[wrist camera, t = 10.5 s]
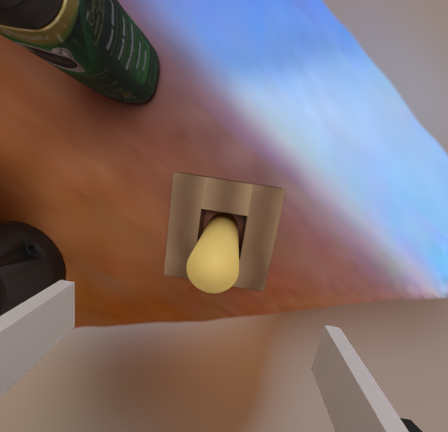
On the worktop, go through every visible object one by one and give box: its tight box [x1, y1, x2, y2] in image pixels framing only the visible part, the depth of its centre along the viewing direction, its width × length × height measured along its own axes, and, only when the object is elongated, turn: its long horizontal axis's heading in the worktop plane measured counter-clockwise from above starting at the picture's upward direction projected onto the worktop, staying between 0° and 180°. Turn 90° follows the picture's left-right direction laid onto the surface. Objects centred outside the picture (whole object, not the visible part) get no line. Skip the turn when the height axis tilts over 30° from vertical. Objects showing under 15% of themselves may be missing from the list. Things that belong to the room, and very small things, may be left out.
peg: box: [186, 212, 239, 293], centre depth 24 cm, size 4×4×14 cm
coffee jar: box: [0, 0, 159, 104], centre depth 18 cm, size 10×8×19 cm
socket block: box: [164, 172, 286, 292], centre depth 29 cm, size 14×14×4 cm
